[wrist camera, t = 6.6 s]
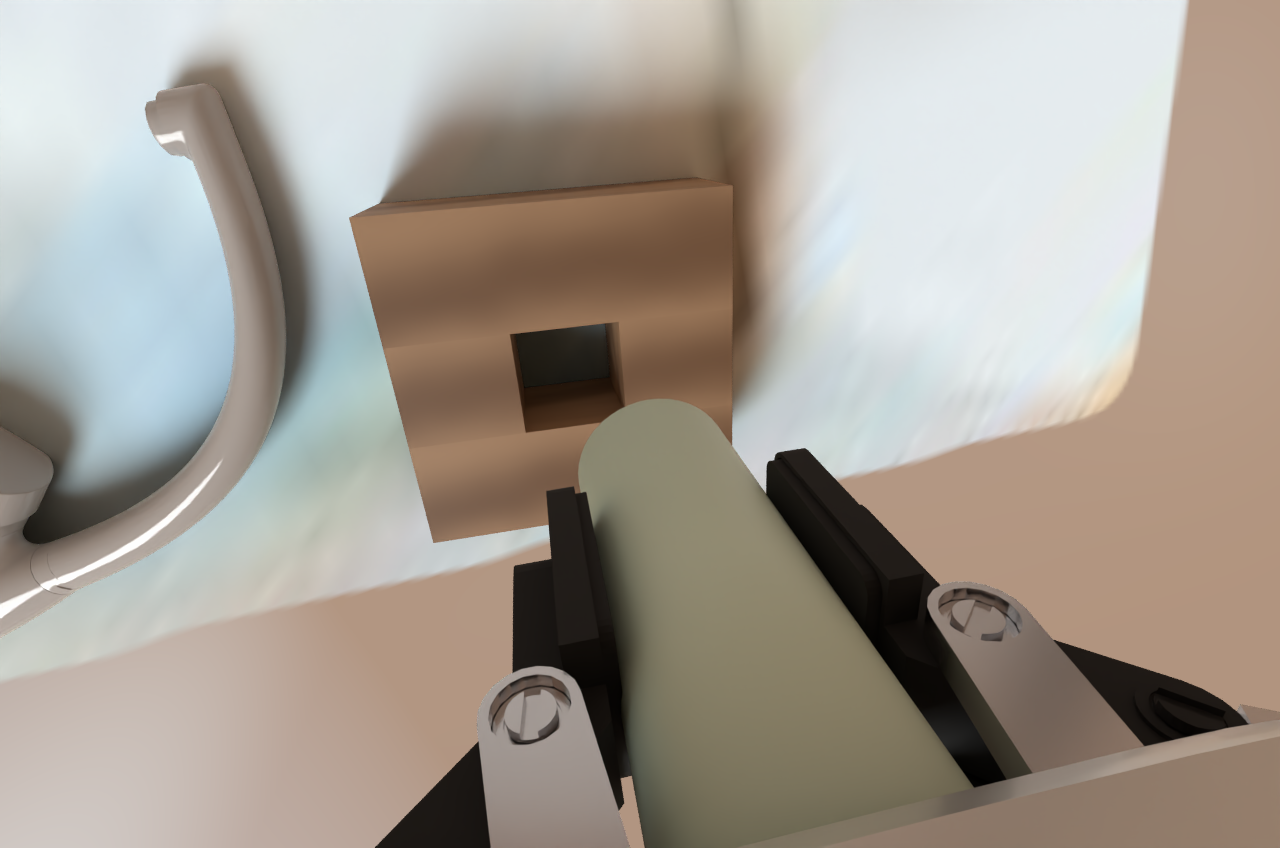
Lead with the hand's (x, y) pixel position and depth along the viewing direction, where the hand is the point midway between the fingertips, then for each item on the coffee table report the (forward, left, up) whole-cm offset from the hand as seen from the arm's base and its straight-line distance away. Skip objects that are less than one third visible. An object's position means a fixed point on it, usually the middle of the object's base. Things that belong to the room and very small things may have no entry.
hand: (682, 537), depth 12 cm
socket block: (+3, -1, -24) cm, 24 cm away
